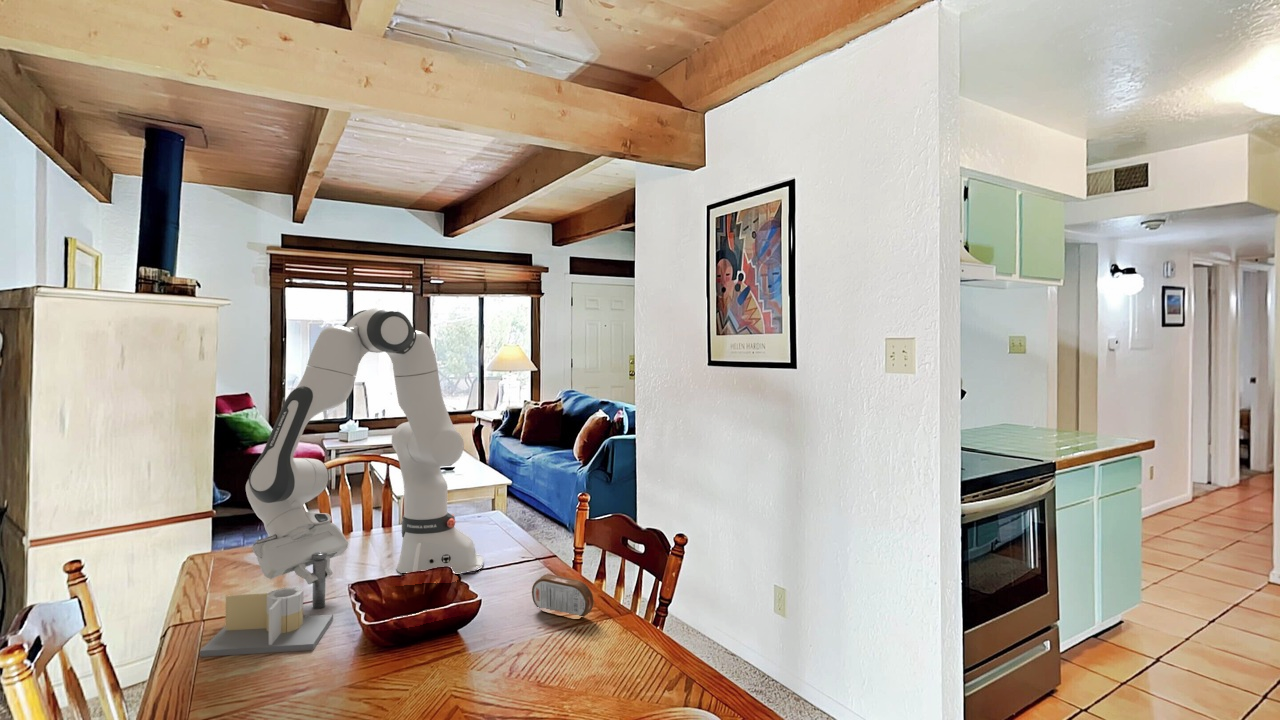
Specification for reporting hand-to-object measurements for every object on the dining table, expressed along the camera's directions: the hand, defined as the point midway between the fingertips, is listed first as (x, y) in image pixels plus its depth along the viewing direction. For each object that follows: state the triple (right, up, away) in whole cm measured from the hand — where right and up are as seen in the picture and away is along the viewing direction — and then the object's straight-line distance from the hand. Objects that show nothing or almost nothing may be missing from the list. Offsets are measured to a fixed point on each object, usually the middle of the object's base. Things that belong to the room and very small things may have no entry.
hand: (321, 579), depth 147 cm
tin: (+55, -8, -1) cm, 55 cm away
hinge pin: (-1, -6, 0) cm, 6 cm away
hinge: (-3, -7, -15) cm, 17 cm away
